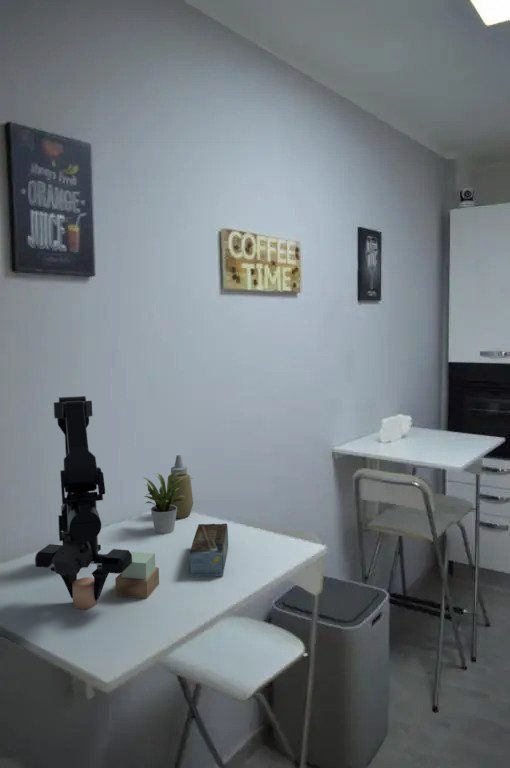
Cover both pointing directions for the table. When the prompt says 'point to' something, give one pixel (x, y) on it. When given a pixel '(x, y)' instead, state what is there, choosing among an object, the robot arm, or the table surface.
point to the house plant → (164, 504)
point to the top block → (140, 566)
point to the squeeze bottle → (181, 489)
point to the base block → (137, 585)
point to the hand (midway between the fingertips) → (85, 598)
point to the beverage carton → (209, 550)
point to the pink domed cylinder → (83, 593)
